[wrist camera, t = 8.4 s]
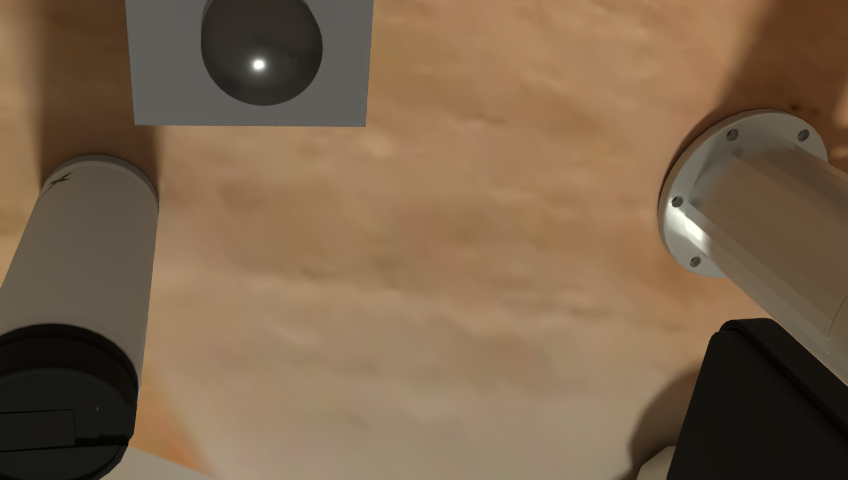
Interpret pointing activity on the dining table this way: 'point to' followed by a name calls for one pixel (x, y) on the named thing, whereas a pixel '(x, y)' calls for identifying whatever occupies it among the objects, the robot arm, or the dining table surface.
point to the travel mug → (76, 322)
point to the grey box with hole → (210, 106)
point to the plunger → (261, 48)
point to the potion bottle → (657, 465)
